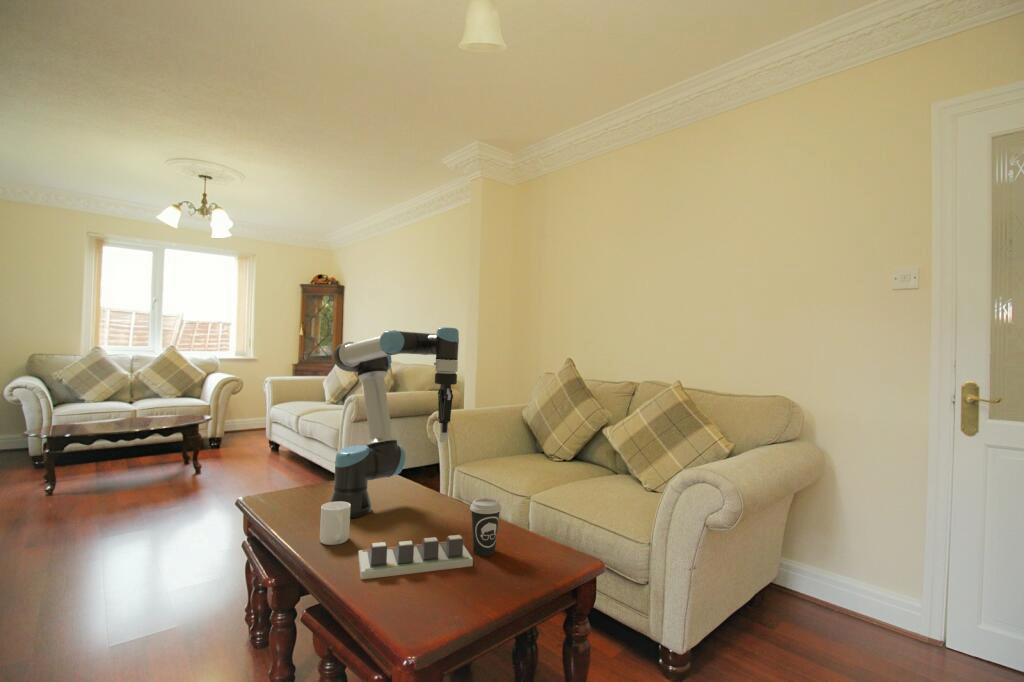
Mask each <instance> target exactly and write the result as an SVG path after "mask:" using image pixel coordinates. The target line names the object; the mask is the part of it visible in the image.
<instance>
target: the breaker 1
mask: <svg viewBox="0 0 1024 682" xmlns="http://www.w3.org/2000/svg"><path fill="white" fill-rule="evenodd" d="M387 547H388V545H387V542H385V541H384V542H383V541H382V542H381V541H380V542H373V543H370V549H371V552H370V563H371V565H379V564H386V562H387Z"/></svg>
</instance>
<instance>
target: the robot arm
mask: <svg viewBox="0 0 1024 682" xmlns="http://www.w3.org/2000/svg"><path fill="white" fill-rule="evenodd" d="M459 335H460V333H459V330H458V328H456V327H438V328H437V329H436V333H426V332H414V331H413V332H412V331H401V330H396V329H395V330H385V331H384V332H383V333H382V334H381V335H379V336H376V337H372V338H368V339H364V340H361V341H358V342H353V341H346V342H343V343H340V344H339V345H337V346H336V347H335V349H334V351H333V352H332V353H333V354H332V357H333V358H332V359H333V362H334V365H336V366H337V367H338V368H339V369H340V370H342V371H345V372H350V373H355V372H356V373H357V378H358V380H360V381H362V387H363V396H364V404H365V413H366V419H367V427H368V434H369V441H368V443H367V444H366V445H364V444H363V445H361V444H359V445H351V446H347V447H344V448H341V449H340V450H339V451H337V452H336V455H335V462H334V466H335V467H334V468H335V469H334V487H333V492H332V496H331V499H330V500H329V502H348V503H350V505H351V507H350V519H357V518H361V517H365V516H367V515H369V514H370V513H371V511H372V502H371V499H370V495H369V492H368V485H369V484H368V482H369V481H372V480H378V479H384V478H390V477H393V476H398V475H400V474H401V472H402V470H403V469H404V467H405V464H406V452H405V450H404V447H403V446H401V445H400V444H398V440H397V439H396V438H395V437H394V436H393V433H392V424H391V416H390V411H389V410H390V408H389V404H388V396H387V390H386V388H387V387H386V381H385V378H386V376H387V375H388V371H389V370H390V368H391V366H392V365H391V364H392V356H395V355H401V354H402V355H403V354H404V355H406V354H408V355H424V356H427V355H431V356H432V355H433V356H435V362H434V363H433V365H434V366H435V369H434V371H435V374H434V383H435V384H436V385H440V386H439V389H438V391H437V397H438V398H437V401H438V404H437V405H438V413H437V415H438V416H437V418H438V423H439V426H438V427H439V428H438V442H439V443H448V442H449V441H448V439H449V437H448V436H449V423H450V422H451V415H452V407H453V405H452V404H453V400H454V399H453V398H454V394H453V390H452V385H454V386H455V385H457V383H458V380H457V379H458V374H457V372H458V369H459V367H458V365H459V359H458V358H459V343H460V339H459Z"/></svg>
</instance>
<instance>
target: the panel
mask: <svg viewBox="0 0 1024 682" xmlns="http://www.w3.org/2000/svg"><path fill="white" fill-rule="evenodd" d="M446 547H447V540H446V541H439V549H438V558H433V559H423V557H422V543H420V544H419V543H418V544H417V543H416V544H414V555H413V562H408V563H399V564H398V561H397V546H389V547H388V546H387V562H386V564H379V565H371V563H370V552H371V548H367V549H361V550H358V555H357V556H358V557H357V558H358V566H359V575H360V580H369V579H376V578H384V577H393V576H402V575H410V574H418V573H419V574H420V573H427V572H435V571H442V570H443V571H444V570H453V569H459V568H460V569H461V568H466V567H467V568H469V567H473V566H474V564H473V562H474V561H473V560H474V559H473V557H472V555H471V554H470V552H469V551H468V549H467V548H466V547H465V545H464V544H463V555H459V556H451V557H449V556H448V555H447V553H446Z"/></svg>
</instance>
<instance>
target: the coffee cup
mask: <svg viewBox="0 0 1024 682" xmlns="http://www.w3.org/2000/svg"><path fill="white" fill-rule="evenodd" d="M469 510H470V511H471V525H472V527H471V528H472V529H471V530H472V531H471V533H472V552H473V554H474V555H475V556H479V557H490V556H493V555H494V554H495V552H496V544H497V536H498V527H499V521H500V513H501V511H502V506H501V504H500V501H499V500H498V499H496V498H495V499H494V498H490V497H480V498H476V499H474V500H473V501H472V503H471V505H470V507H469Z"/></svg>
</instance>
